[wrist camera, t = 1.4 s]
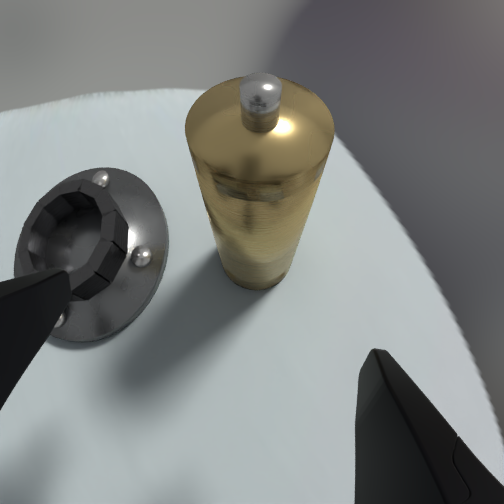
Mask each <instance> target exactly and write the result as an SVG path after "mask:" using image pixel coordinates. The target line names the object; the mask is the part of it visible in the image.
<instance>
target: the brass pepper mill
mask: <svg viewBox="0 0 504 504" xmlns="http://www.w3.org/2000/svg"><path fill="white" fill-rule="evenodd" d="M185 134H186V138H187V142H188V146H189V150H190V153H191V157H192V161H193V164H194V168H195V172H196V175H197V179H198V182H199V186H200V190H201V193H202V197H203V200H204V204H205V207H206V211H207V214H208V218H209V221H210V224H211V228H212V231H213V235H214V238H215V241H216V245H217V248H218V252H219V255H220V258H221V262H222V265H223V268H224V270H225V272H226V274H227V276H228V277H229V278H230V279H231V280H232V281H233V282H234V283H236V284H237V285H239V286H241V287H243V288H246V289H250V290H263V289H267V288H270V287H272V286H274V285H276V284H278V283H279V282H280V281H281V280H282V279H283V278H284V277H285V276H286V274H287V273H288V271H289V268H290V266H291V263H292V260H293V257H294V255H295V252H296V249H297V246H298V243H299V240H300V238H301V235H302V232H303V229H304V226H305V223H306V221H307V218H308V215H309V212H310V209H311V206H312V203H313V200H314V197H315V194H316V191H317V188H318V185H319V182H320V179H321V176H322V173H323V170H324V167H325V164H326V161H327V158H328V155H329V152H330V149H331V145H332V142H333V139H334V123H333V118H332V116H331V114H330V112H329V110H328V108H327V107H326V105H325V104H324V103H323V101H322V100H321V99H320V98H319V97H318V96H317V95H315V94H314V93H313V92H311V91H310V90H309V89H307V88H305V87H303V86H302V85H299V84H297V83H295V82H292V81H289V80H287V79H283V78H278V77H275V76H273V75H271V74H267V73H253V74H250V75H247V76H245V77H239V78H234V79H231V80H227V81H225V82H222V83H220V84H218V85H216V86H214V87H212V88H211V89H209V90H207V91H206V92H205V93H203V94H202V95H201V96H200V97H199V98H198V99H197V100H196V101H195V103H194V104H193V105H192V107H191V109H190V110H189V112H188V115H187V118H186V123H185Z"/></svg>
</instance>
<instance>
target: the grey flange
mask: <svg viewBox="0 0 504 504" xmlns="http://www.w3.org/2000/svg"><path fill="white" fill-rule="evenodd" d="M168 248H169V234H168V226H167V221H166V218H165V215H164V212H163V209H162V207H161V205H160V204H159V202H158V200H157V198H156V196H155V194H154V193H153V192H152V190H151V189H150V188H149V186H148V185H147V184H146V183H145V182H143V181H142V180H141V179H140V178H138V177H137V176H135V175H134V174H131V173H129V172H127V171H124V170H120V169H116V168H94V169H89V170H85V171H82V172H79V173H77V174H74V175H72V176H70V177H68V178H66V179H65V180H63V181H62V182H60V183H59V184H57V185H56V186H55V187H53V188H52V189H51V190H50V191H49V192H48V193H47V194H46V195H45V196H43V197H42V198H41V199H40V200H39V202H37V203H36V205H35V206H34V208H33V210H32V211H31V213H30V215H29V216H28V218H27V220H26V221H25V223H24V227H23V228H22V232H21V234H20V237H19V240H18V244H17V248H16V253H15V261H14V277H15V278H17V277H21V276H25V275H29V274H32V273H36V272H40V271H44V270H48V269H52V268H56V267H57V268H61V269H64V270H66V271H67V272H68V274H69V279H70V285H71V291H72V296H71V300H70V302H69V303H68V305H67V307H66V308H65V310H64V311H63V313H62V315H61V316H60V318H59V320H58V321H57V323H56V325H55V327H54V328H53V330H52V332H51V333H50V335H52V336H54V337H57V338H60V339H64V340H68V341H75V342H91V341H96V340H100V339H103V338H106V337H108V336H111V335H113V334H115V333H117V332H118V331H120V330H122V329H123V328H125V327H126V326H127V325H128V324H130V323H131V322H132V321H133V320H134V319H135V318H136V317H137V316H138V315H139V314H140V313H141V312H142V311H143V310H144V308H145V307H146V306H147V305H148V303H149V302H150V300H151V299H152V297H153V295H154V294H155V292H156V290H157V288H158V286H159V284H160V281H161V279H162V276H163V273H164V270H165V267H166V262H167V257H168Z"/></svg>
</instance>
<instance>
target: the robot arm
mask: <svg viewBox="0 0 504 504" xmlns="http://www.w3.org/2000/svg"><path fill="white" fill-rule="evenodd" d="M71 296H72V291H71V285H70V279H69V274H68V272H67V271H66V270H64V269H61V268H57V267H56V268H52V269H48V270H44V271H40V272H36V273H32V274H29V275H25V276H21V277H17V278H14V279H10V280H6V281H2V282H0V410H1V409H2V407H3V405H4V403H5V402H6V400H7V399H8V397H9V395H10V394H11V392H12V390H13V389H14V387H15V386H16V384H17V382H18V381H19V379H20V378H21V376H22V375H23V373H24V372H25V370H26V369H27V367H28V366H29V364H30V363H31V361H32V360H33V358H34V357H35V355H36V354H37V352H38V351H39V350H40V348H41V347H42V345H43V344H44V342H45V341H46V339H47V338H48V337H49V335H50V333H51V332H52V330H53V328H54V327H55V325H56V323H57V321H58V320H59V318H60V316H61V315H62V313H63V311H64V310H65V308H66V307H67V305H68V303H69V302H70V300H71ZM354 504H504V486H503V485H502V484H501V483H500V482H499V481H498V480H497V479H496V478H495V477H494V476H493V475H492V474H491V473H490V472H489V471H488V469H487V468H486V467H485V466H484V465H483V464H482V463H481V462H480V461H479V460H478V459H477V457H476V456H475V455H474V454H473V453H472V451H471V450H470V449H469V448H468V447H467V445H466V444H465V443H464V442H463V440H462V439H461V438H460V437H459V436H458V437H457V433H456V432H455V431H454V429H453V428H452V427H451V426H450V425H449V423H448V422H447V421H446V420H445V418H444V417H443V416H442V415H441V414H440V412H439V411H438V410H437V409H436V408H435V406H434V405H433V404H432V403H431V402H430V400H429V399H428V398H427V397H426V396H425V394H424V393H423V392H422V391H421V390H420V389H419V387H418V386H417V385H416V384H415V383H414V382H413V380H412V379H411V378H410V377H409V376H408V374H407V373H406V372H405V371H404V370H403V369H402V368H401V366H400V365H399V364H398V363H397V362H396V361H395V359H394V358H393V357H392V356H391V355H390V354H389V353H388V352H387V351H386V350H382V349H376V348H374V349H372V350H371V351H370V352H369V354H368V356H367V358H366V360H365V362H364V364H363V366H362V368H361V370H360V373H359V379H358V394H357V407H356V419H355V503H354Z"/></svg>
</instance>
